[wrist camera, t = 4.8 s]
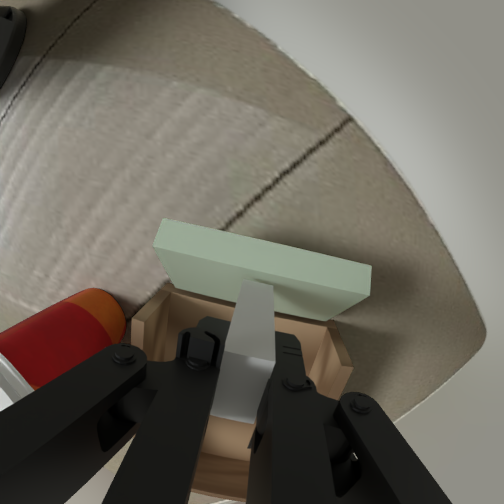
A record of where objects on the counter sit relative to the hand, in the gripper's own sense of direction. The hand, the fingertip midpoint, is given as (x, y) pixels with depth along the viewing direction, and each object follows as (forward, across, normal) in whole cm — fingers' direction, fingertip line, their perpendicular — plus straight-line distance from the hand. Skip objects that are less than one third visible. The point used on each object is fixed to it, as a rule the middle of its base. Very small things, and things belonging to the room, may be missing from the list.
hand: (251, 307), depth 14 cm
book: (+6, 0, -2) cm, 6 cm away
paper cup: (+7, -12, -8) cm, 16 cm away
